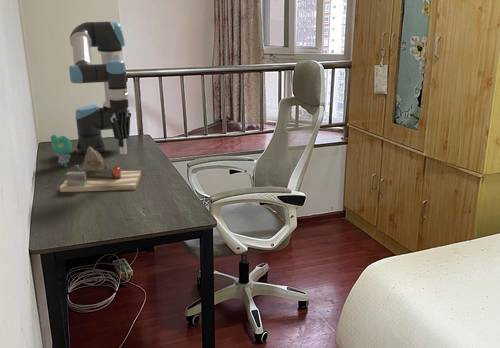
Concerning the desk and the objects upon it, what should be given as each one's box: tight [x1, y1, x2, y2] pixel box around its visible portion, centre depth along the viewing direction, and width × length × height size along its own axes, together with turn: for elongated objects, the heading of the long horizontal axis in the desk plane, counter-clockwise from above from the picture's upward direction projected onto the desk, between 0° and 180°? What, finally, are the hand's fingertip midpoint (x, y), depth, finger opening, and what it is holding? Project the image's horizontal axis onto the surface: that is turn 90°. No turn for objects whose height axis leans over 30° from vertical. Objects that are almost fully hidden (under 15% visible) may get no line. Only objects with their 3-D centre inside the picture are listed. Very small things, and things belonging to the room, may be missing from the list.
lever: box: [79, 166, 122, 179], centre depth 210 cm, size 4×18×4 cm, turn 83°
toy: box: [50, 134, 73, 168], centre depth 231 cm, size 9×8×15 cm
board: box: [59, 164, 142, 193], centre depth 209 cm, size 19×30×7 cm, turn 95°
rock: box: [82, 147, 106, 169], centre depth 225 cm, size 14×10×8 cm
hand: (123, 153), depth 212 cm, fingers closed
